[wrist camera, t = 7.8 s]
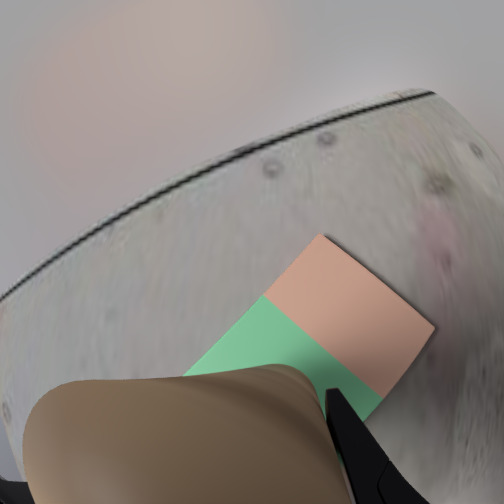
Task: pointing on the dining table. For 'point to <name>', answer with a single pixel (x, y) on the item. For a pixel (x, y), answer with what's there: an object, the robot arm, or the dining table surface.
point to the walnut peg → (184, 441)
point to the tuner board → (326, 329)
